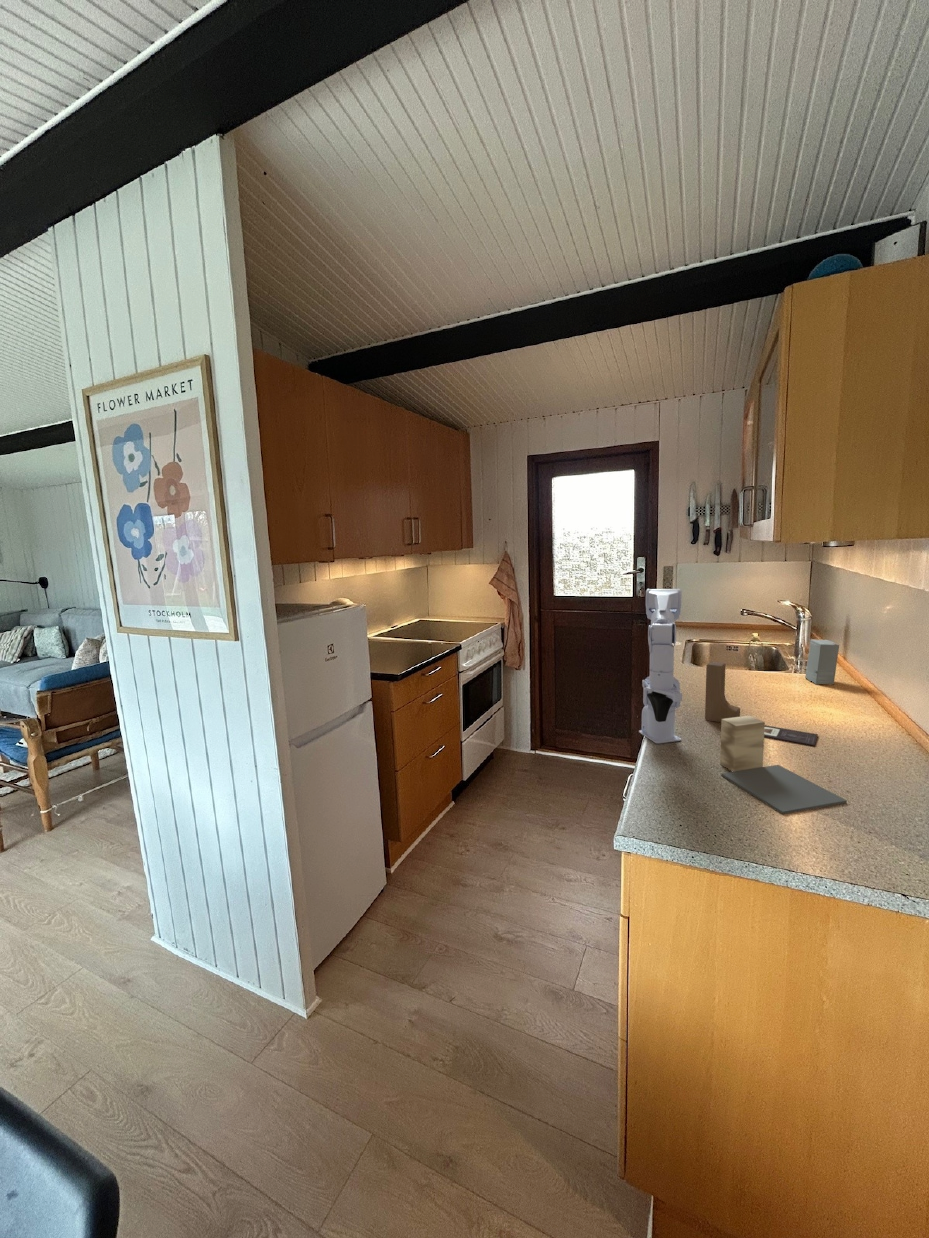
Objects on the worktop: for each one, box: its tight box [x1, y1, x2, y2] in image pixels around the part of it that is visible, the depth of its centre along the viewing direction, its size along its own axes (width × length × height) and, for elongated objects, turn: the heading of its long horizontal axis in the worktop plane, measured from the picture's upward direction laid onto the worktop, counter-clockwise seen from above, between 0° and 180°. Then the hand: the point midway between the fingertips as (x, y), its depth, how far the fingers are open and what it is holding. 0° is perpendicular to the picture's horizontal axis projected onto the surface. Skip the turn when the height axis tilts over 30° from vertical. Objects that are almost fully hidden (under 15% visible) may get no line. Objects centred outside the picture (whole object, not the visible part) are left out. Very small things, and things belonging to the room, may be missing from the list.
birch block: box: [719, 715, 766, 772], centre depth 124 cm, size 5×8×12 cm, turn 102°
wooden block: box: [704, 661, 741, 724], centre depth 154 cm, size 9×4×18 cm, turn 49°
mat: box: [720, 764, 848, 815], centre depth 114 cm, size 18×16×1 cm
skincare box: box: [805, 638, 840, 685], centre depth 189 cm, size 8×7×16 cm
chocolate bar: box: [764, 724, 819, 748], centre depth 144 cm, size 9×1×18 cm
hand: (660, 720), depth 130 cm, fingers closed
